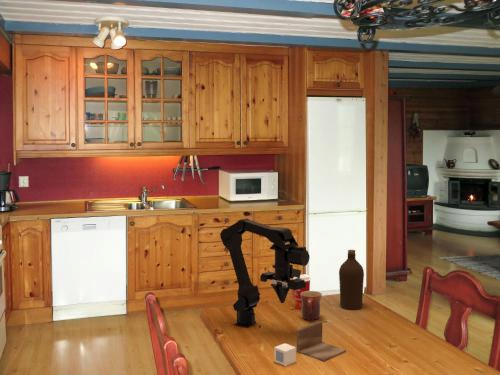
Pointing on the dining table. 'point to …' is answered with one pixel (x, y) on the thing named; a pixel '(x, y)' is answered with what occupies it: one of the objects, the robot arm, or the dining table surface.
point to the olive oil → (351, 283)
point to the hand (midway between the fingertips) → (282, 302)
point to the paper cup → (301, 290)
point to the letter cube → (285, 354)
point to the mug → (311, 304)
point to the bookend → (315, 343)
